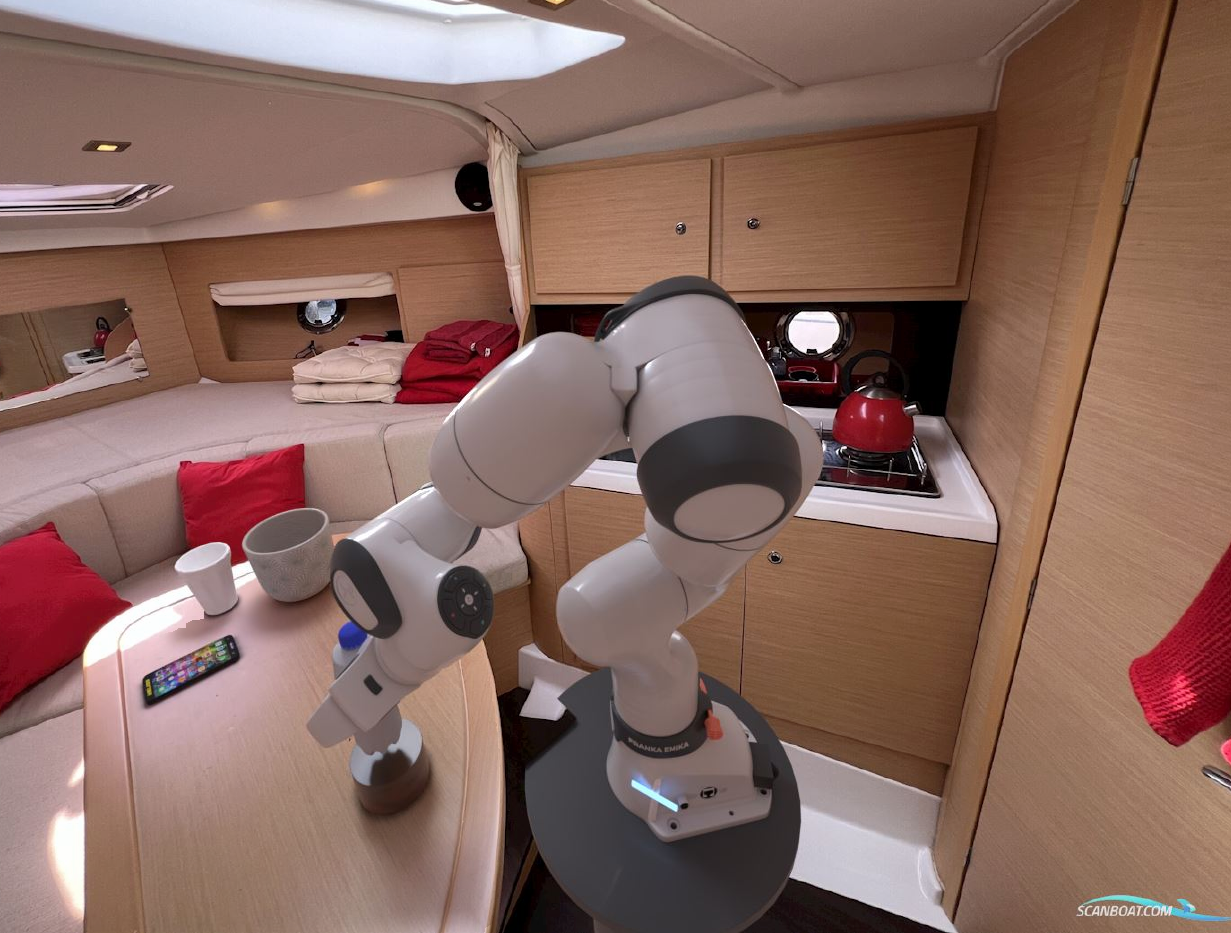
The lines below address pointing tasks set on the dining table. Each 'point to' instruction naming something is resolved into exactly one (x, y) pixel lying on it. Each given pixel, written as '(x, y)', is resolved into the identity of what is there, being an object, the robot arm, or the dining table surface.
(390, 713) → the bottle
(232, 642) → the smartphone
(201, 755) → the dining table surface
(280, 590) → the planter
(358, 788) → the pedestal
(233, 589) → the cup
